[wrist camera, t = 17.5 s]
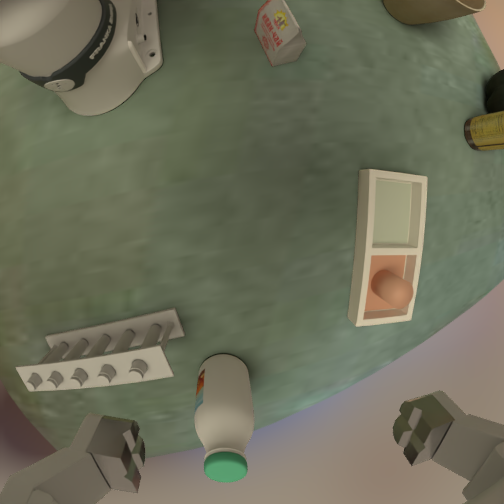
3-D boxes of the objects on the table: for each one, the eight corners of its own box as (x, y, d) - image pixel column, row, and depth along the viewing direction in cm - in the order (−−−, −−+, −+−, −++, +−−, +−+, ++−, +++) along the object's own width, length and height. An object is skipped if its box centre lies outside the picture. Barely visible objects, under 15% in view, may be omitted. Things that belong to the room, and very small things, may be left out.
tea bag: (278, 25, 34) (291, -12, 24) (296, 61, 35) (315, 29, 25) (254, 30, 33) (262, -8, 24) (272, 66, 35) (285, 34, 25)
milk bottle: (215, 344, 43) (212, 444, 23) (257, 366, 44) (277, 465, 25) (190, 377, 44) (176, 476, 24) (231, 397, 45) (236, 495, 26)
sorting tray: (358, 169, 39) (369, 168, 36) (414, 176, 40) (427, 176, 36) (347, 317, 44) (355, 326, 40) (400, 311, 45) (410, 320, 41)
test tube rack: (175, 307, 41) (156, 355, 28) (185, 333, 42) (172, 387, 29) (47, 335, 40) (7, 374, 27) (57, 356, 41) (22, 399, 28)
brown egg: (373, 268, 41) (392, 279, 35) (395, 270, 42) (416, 281, 36) (368, 294, 42) (386, 308, 36) (390, 295, 42) (409, 309, 36)
